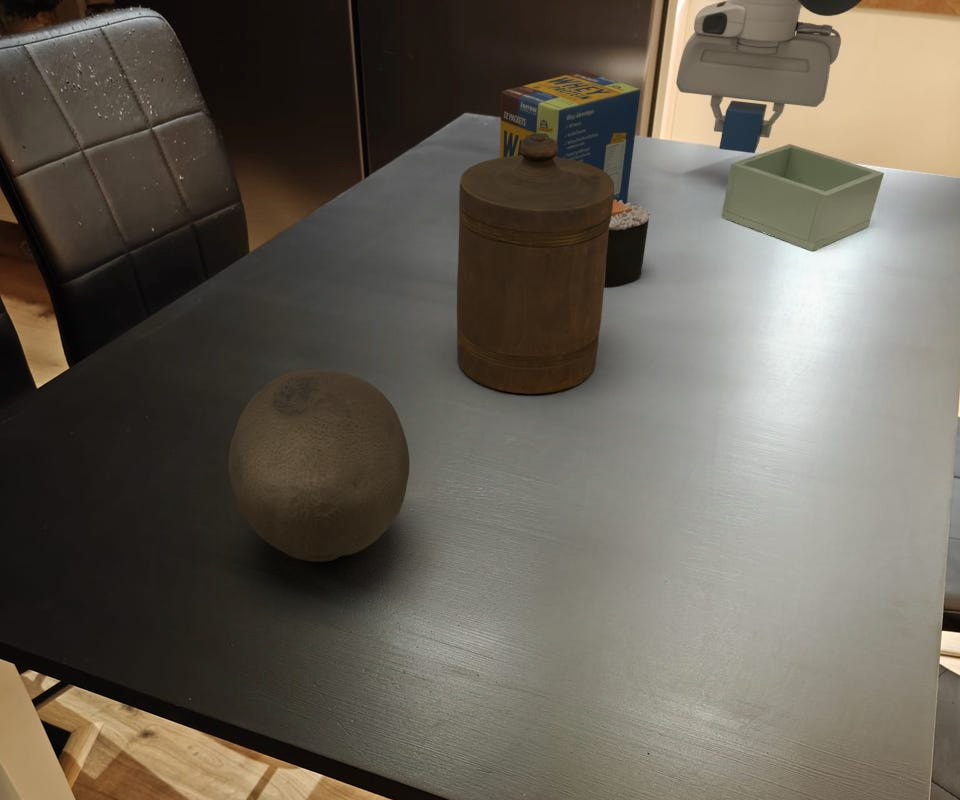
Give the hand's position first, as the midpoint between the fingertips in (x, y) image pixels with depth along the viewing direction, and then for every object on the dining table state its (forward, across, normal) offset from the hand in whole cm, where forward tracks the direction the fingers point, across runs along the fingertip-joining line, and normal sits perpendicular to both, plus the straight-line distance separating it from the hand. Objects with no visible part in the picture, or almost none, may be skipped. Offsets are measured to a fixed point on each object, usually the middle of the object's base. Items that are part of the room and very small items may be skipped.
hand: (741, 133), depth 133 cm
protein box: (+8, +20, +20) cm, 29 cm away
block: (+2, 0, 0) cm, 2 cm away
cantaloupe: (+7, +19, +97) cm, 99 cm away
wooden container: (+7, +13, +61) cm, 62 cm away
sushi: (+7, +10, +36) cm, 38 cm away
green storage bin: (+7, -10, +10) cm, 16 cm away
